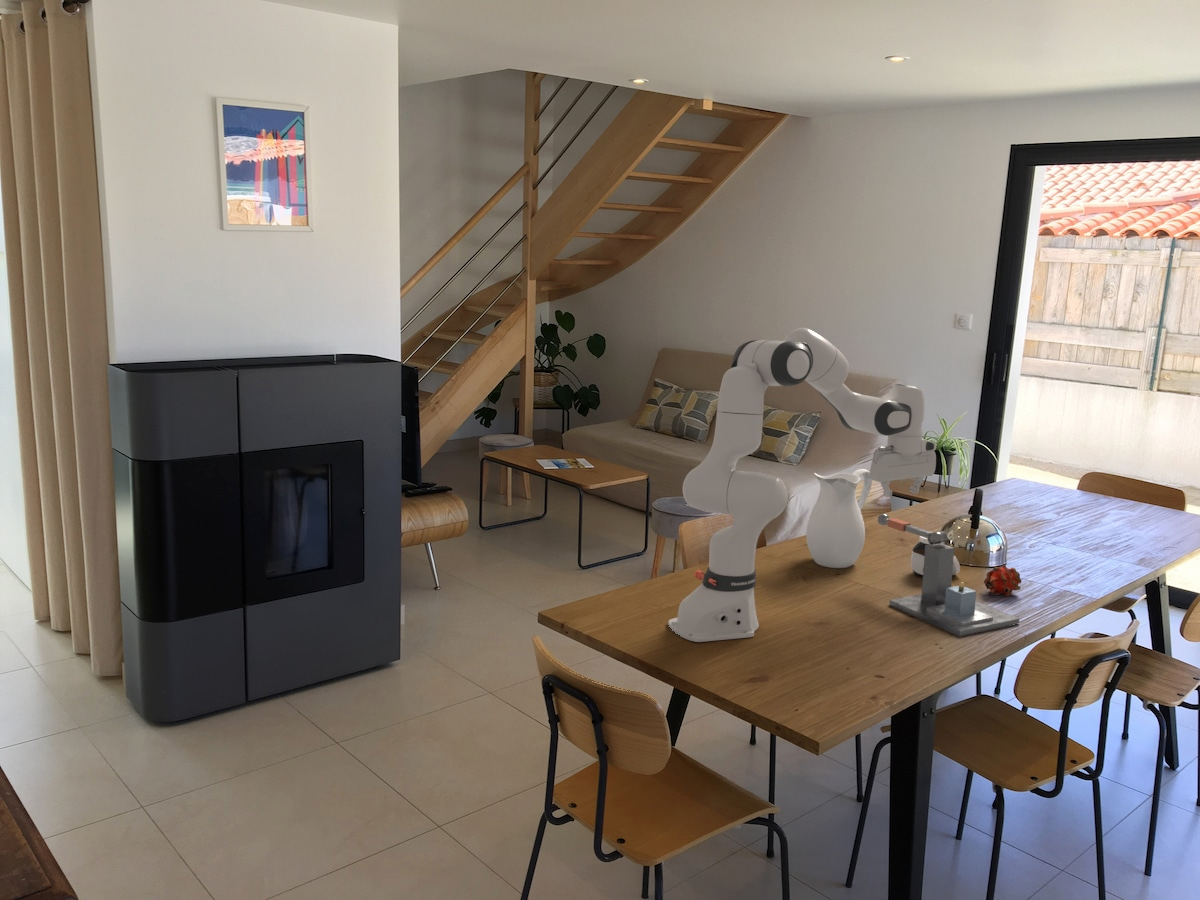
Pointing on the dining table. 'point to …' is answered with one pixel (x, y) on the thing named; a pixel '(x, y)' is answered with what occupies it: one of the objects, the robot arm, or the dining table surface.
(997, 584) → the dragon fruit
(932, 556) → the stand
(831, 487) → the pitcher
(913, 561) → the spread jar
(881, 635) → the dining table surface
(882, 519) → the lever
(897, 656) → the dining table surface
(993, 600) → the dining table surface
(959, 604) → the block
